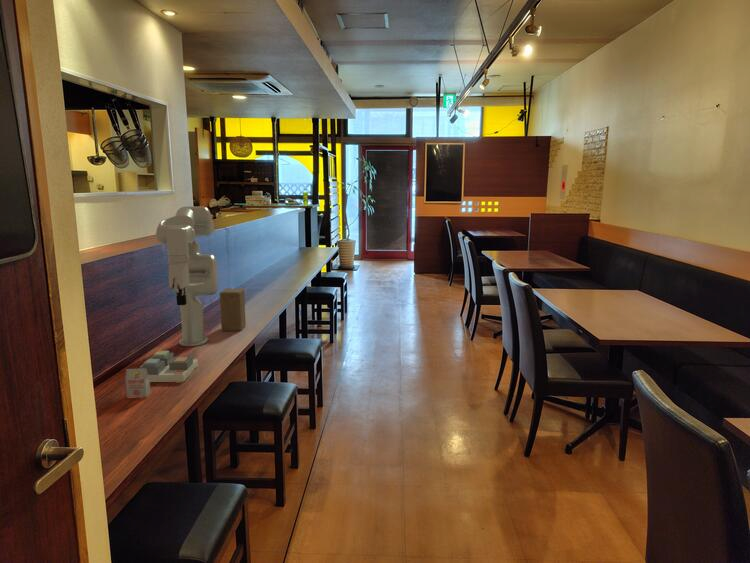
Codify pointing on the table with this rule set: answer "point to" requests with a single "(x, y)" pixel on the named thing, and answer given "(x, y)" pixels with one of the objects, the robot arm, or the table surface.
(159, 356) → the sage button
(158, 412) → the table surface
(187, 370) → the button panel
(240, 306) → the wooden block
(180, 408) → the table surface
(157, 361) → the slate button
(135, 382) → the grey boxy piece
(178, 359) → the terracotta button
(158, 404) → the table surface
